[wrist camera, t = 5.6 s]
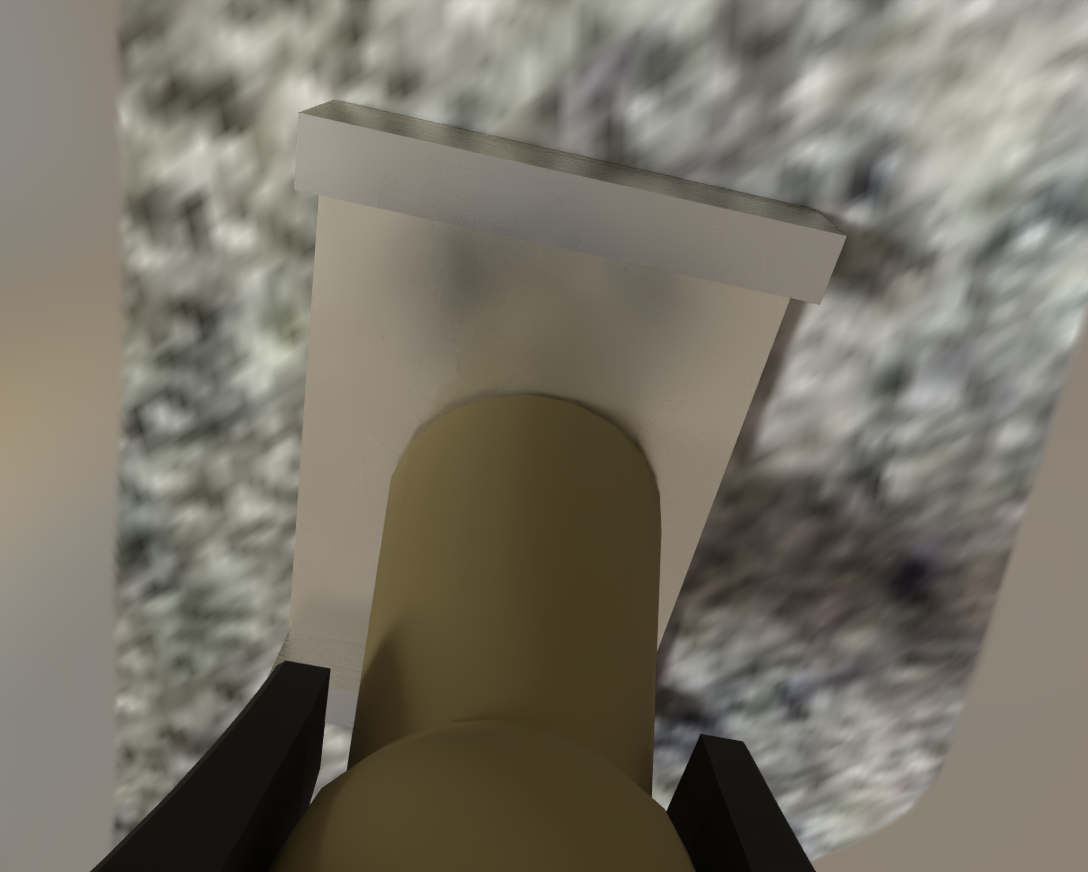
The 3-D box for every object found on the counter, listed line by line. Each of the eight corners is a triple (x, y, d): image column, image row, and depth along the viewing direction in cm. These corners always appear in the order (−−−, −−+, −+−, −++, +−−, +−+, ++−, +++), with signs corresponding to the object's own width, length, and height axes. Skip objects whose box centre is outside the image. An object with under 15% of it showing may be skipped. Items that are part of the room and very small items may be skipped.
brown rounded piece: (380, 385, 16) (67, 929, 6) (679, 403, 16) (869, 977, 6) (390, 623, 18) (183, 1277, 9) (646, 639, 18) (739, 1311, 9)
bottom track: (627, 712, 21) (632, 775, 19) (292, 652, 20) (266, 712, 19) (814, 209, 15) (847, 235, 13) (333, 100, 14) (298, 112, 12)
